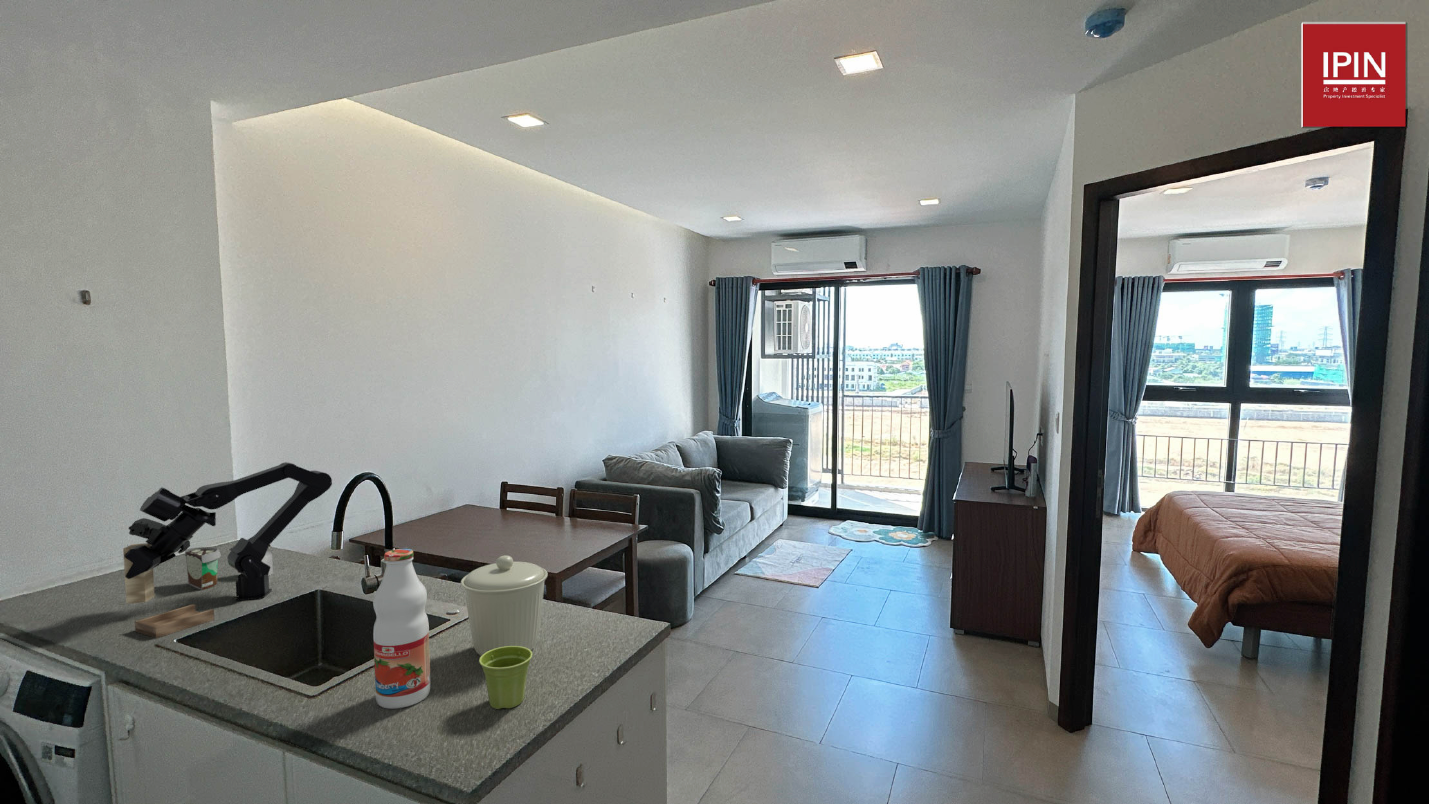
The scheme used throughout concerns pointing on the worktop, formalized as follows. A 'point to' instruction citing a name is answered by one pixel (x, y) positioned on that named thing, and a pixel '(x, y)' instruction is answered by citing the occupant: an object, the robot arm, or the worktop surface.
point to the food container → (202, 566)
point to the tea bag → (268, 561)
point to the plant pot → (506, 675)
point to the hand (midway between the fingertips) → (132, 574)
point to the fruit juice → (401, 634)
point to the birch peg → (138, 581)
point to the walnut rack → (173, 621)
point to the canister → (504, 604)
